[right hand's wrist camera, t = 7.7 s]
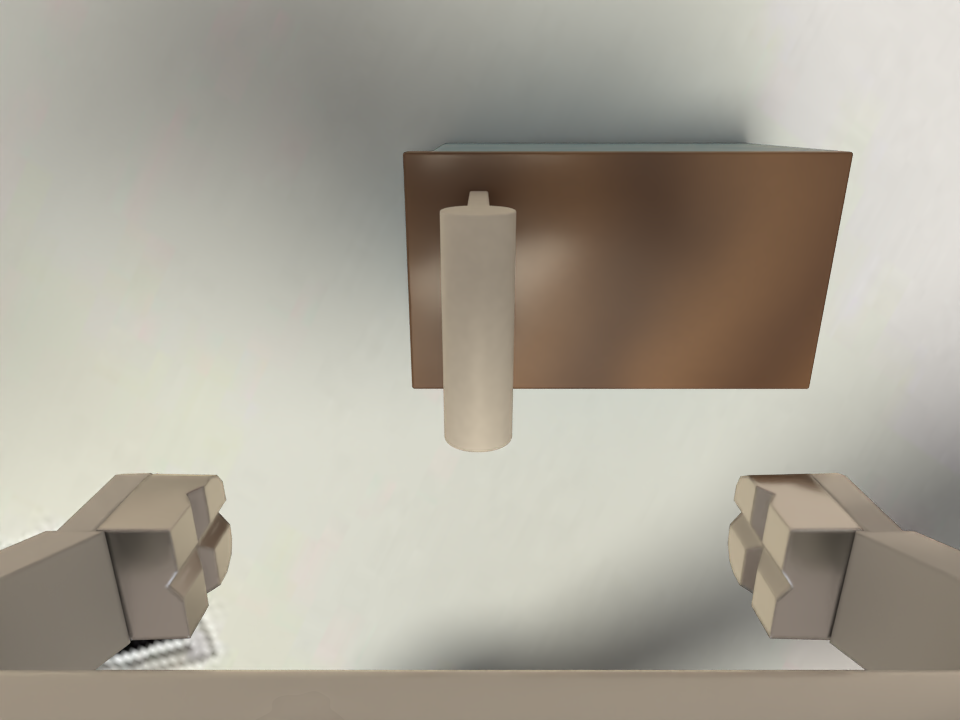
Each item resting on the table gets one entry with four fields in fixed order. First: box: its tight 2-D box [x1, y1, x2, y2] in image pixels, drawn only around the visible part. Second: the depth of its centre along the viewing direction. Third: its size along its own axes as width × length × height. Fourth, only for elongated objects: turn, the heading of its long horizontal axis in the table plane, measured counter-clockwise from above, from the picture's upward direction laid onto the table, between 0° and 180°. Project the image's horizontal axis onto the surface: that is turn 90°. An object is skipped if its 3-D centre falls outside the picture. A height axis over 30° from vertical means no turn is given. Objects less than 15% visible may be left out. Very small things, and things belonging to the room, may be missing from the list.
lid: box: [403, 151, 853, 452], centre depth 22 cm, size 17×10×9 cm, turn 90°
